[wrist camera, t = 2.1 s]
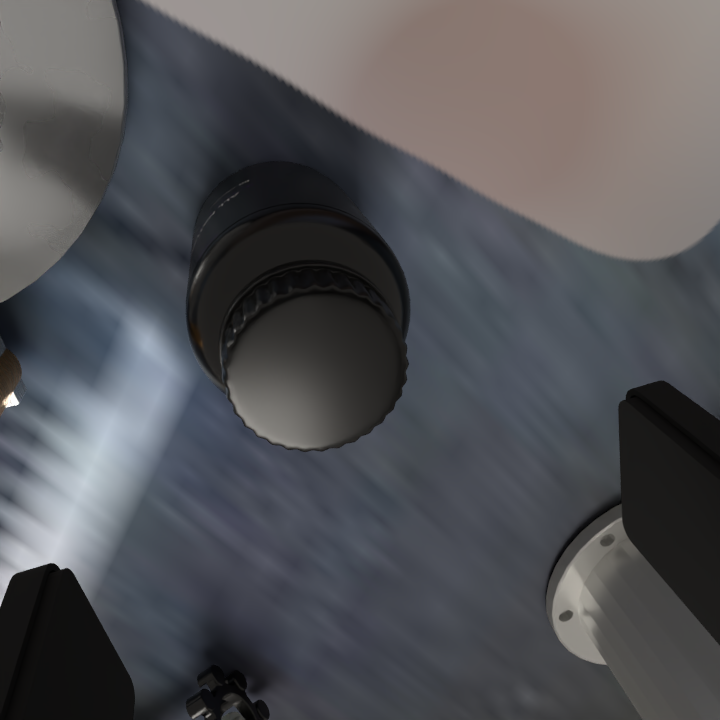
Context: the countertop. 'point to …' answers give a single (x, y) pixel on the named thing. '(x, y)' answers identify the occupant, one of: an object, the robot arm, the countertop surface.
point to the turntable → (54, 137)
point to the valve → (224, 698)
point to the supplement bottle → (297, 307)
